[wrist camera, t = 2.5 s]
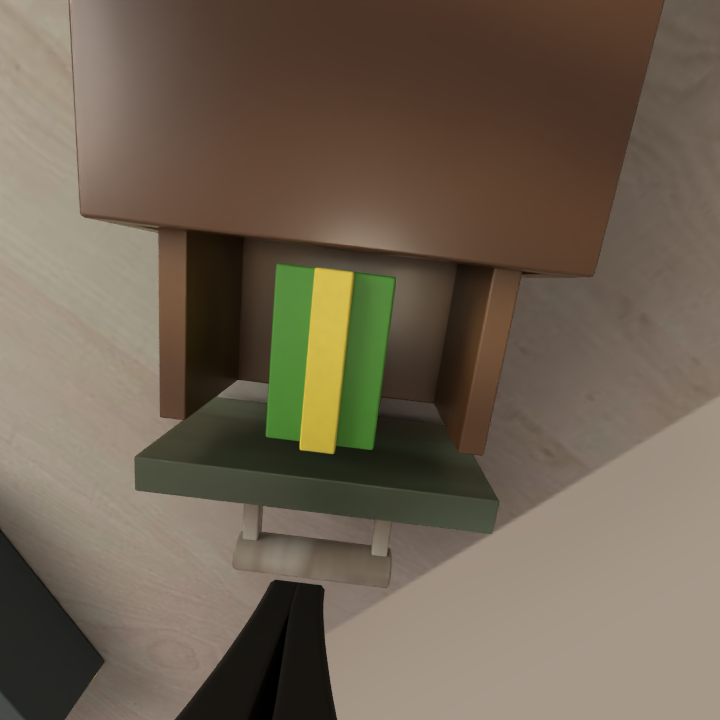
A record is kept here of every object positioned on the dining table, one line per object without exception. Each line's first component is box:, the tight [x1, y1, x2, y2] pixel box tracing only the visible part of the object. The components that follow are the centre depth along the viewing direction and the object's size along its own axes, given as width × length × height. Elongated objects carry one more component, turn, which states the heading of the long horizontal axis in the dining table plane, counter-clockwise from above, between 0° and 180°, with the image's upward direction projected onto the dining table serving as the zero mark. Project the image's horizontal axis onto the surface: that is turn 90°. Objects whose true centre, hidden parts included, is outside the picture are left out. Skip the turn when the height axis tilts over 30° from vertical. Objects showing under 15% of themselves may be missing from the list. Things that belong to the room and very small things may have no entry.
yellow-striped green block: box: [266, 263, 396, 454], centre depth 12 cm, size 5×3×6 cm, turn 173°
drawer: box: [135, 228, 522, 588], centre depth 13 cm, size 23×11×6 cm, turn 173°
